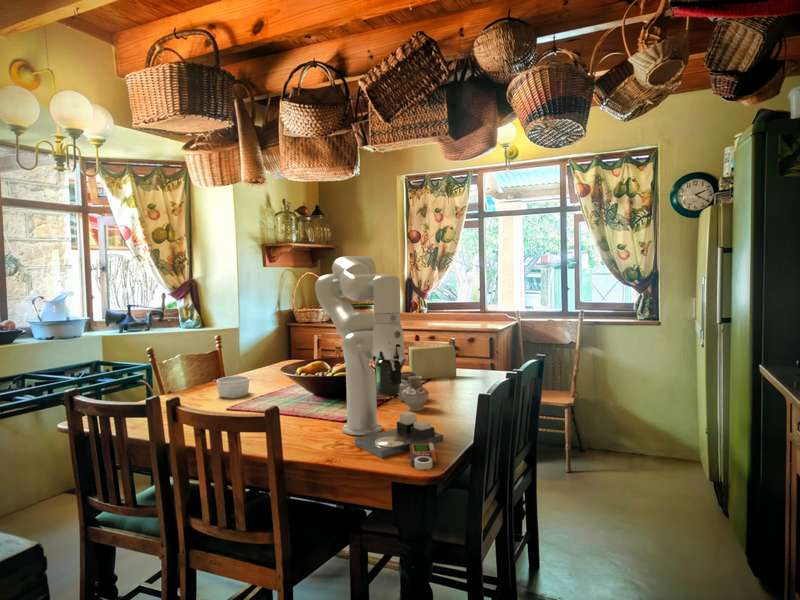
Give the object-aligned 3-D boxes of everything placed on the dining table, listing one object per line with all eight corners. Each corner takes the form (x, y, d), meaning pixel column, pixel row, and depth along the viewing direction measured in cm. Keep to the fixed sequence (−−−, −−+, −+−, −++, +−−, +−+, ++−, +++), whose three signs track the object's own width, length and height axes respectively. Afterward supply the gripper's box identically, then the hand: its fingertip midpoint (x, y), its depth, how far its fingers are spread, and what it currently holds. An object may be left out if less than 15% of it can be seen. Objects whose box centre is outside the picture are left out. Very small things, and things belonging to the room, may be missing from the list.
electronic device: (411, 462, 134) (409, 440, 149) (411, 473, 134) (409, 450, 149) (438, 461, 134) (433, 440, 149) (438, 473, 135) (433, 450, 150)
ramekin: (244, 399, 214) (243, 382, 214) (212, 399, 215) (211, 382, 214) (254, 391, 228) (253, 375, 227) (223, 392, 228) (223, 376, 228)
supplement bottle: (376, 395, 146) (375, 352, 145) (376, 390, 153) (375, 349, 152) (401, 395, 146) (400, 352, 146) (399, 389, 153) (399, 348, 152)
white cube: (413, 434, 156) (413, 422, 156) (423, 431, 158) (423, 420, 158) (421, 437, 153) (421, 425, 153) (431, 434, 156) (430, 423, 155)
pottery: (403, 414, 188) (402, 380, 187) (391, 397, 212) (391, 368, 211) (434, 411, 190) (433, 378, 189) (419, 395, 214) (418, 366, 213)
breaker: (400, 424, 162) (399, 413, 162) (409, 422, 164) (409, 411, 164) (407, 427, 159) (406, 416, 159) (416, 425, 161) (416, 413, 161)
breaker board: (354, 445, 155) (354, 430, 154) (414, 430, 168) (414, 416, 167) (381, 458, 143) (381, 442, 143) (443, 441, 156) (443, 426, 156)
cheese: (453, 374, 256) (453, 343, 255) (458, 378, 246) (458, 346, 245) (408, 376, 253) (408, 345, 252) (411, 380, 244) (410, 348, 243)
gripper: (416, 320, 144) (417, 385, 145) (381, 316, 158) (382, 375, 159) (393, 322, 139) (395, 389, 140) (359, 318, 153) (360, 378, 154)
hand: (388, 381), depth 149 cm, fingers closed on supplement bottle, 6 cm apart
